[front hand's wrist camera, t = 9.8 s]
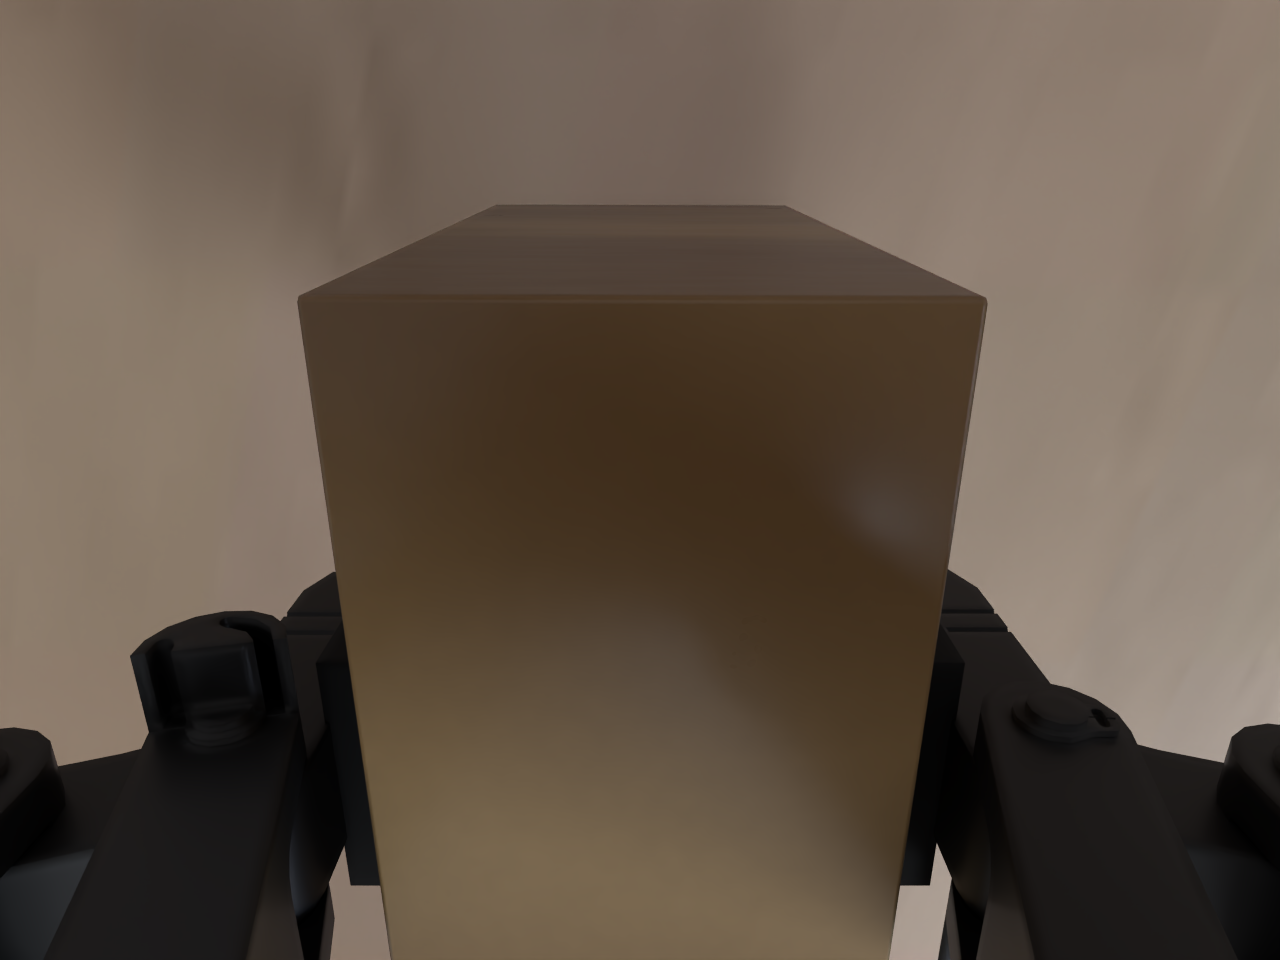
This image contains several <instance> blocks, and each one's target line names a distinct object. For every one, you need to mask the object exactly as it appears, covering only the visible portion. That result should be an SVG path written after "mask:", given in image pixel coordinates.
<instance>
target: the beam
mask: <svg viewBox="0 0 1280 960" xmlns="http://www.w3.org/2000/svg"><path fill="white" fill-rule="evenodd" d="M297 303H298V310H299V317H300V324H301V331H302V338H303V345H304V352H305V359H306V366H307V373H308V380H309V387H310V394H311V401H312V408H313V415H314V422H315V429H316V436H317V443H318V450H319V457H320V464H321V471H322V479H323V486H324V493H325V500H326V507H327V514H328V521H329V528H330V535H331V542H332V549H333V556H334V563H335V570H336V577H337V584H338V591H339V598H340V605H341V612H342V619H343V626H344V633H345V640H346V647H347V654H348V661H349V668H350V675H351V682H352V689H353V696H354V703H355V710H356V718H357V725H358V732H359V739H360V746H361V753H362V760H363V767H364V774H365V781H366V788H367V795H368V802H369V809H370V816H371V823H372V830H373V837H374V844H375V851H376V858H377V865H378V872H379V879H380V886H381V893H382V900H383V907H384V914H385V921H386V928H387V935H388V942H389V949H390V957H391V960H889V956H890V949H891V942H892V936H893V929H894V922H895V916H896V909H897V902H898V896H899V889H900V883H901V876H902V869H903V863H904V856H905V849H906V843H907V836H908V829H909V823H910V816H911V809H912V803H913V796H914V790H915V783H916V776H917V770H918V763H919V756H920V750H921V743H922V736H923V730H924V723H925V716H926V710H927V703H928V696H929V690H930V683H931V677H932V670H933V663H934V657H935V650H936V643H937V637H938V630H939V623H940V617H941V610H942V603H943V597H944V590H945V583H946V577H947V570H948V564H949V557H950V550H951V544H952V537H953V530H954V524H955V517H956V510H957V504H958V497H959V490H960V484H961V477H962V471H963V464H964V457H965V451H966V444H967V437H968V431H969V424H970V417H971V411H972V404H973V397H974V391H975V384H976V377H977V371H978V364H979V358H980V351H981V344H982V338H983V331H984V324H985V318H986V311H987V304H988V303H987V299H986V298H985V297H983V296H981V295H978V294H976V293H974V292H972V291H970V290H968V289H965V288H963V287H961V286H959V285H957V284H955V283H952V282H950V281H948V280H946V279H944V278H941V277H939V276H937V275H935V274H933V273H931V272H928V271H926V270H924V269H922V268H920V267H918V266H915V265H913V264H911V263H909V262H907V261H905V260H902V259H900V258H898V257H896V256H894V255H891V254H889V253H887V252H885V251H883V250H881V249H878V248H876V247H874V246H872V245H870V244H868V243H865V242H863V241H861V240H859V239H857V238H854V237H852V236H850V235H848V234H846V233H844V232H841V231H839V230H837V229H835V228H833V227H831V226H828V225H826V224H824V223H822V222H820V221H818V220H815V219H813V218H811V217H809V216H807V215H804V214H802V213H800V212H798V211H796V210H794V209H791V208H789V207H787V206H757V205H495V206H493V207H491V208H488V209H486V210H484V211H482V212H480V213H478V214H475V215H473V216H471V217H469V218H467V219H465V220H462V221H460V222H458V223H456V224H454V225H452V226H449V227H447V228H445V229H443V230H441V231H439V232H436V233H434V234H432V235H430V236H428V237H426V238H423V239H421V240H419V241H417V242H415V243H413V244H410V245H408V246H406V247H404V248H402V249H400V250H397V251H395V252H393V253H391V254H389V255H387V256H384V257H382V258H380V259H378V260H376V261H374V262H371V263H369V264H367V265H365V266H363V267H361V268H358V269H356V270H354V271H352V272H350V273H348V274H345V275H343V276H341V277H339V278H337V279H335V280H332V281H330V282H328V283H326V284H324V285H322V286H319V287H317V288H315V289H313V290H311V291H309V292H306V293H304V294H302V295H300V296H299V297H298V301H297Z"/></svg>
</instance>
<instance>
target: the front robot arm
mask: <svg viewBox="0 0 1280 960" xmlns="http://www.w3.org/2000/svg"><path fill="white" fill-rule="evenodd" d="M130 658H131V662H132V666H133V670H134V674H135V678H136V682H137V686H138V690H139V694H140V698H141V702H142V706H143V710H144V714H145V718H146V722H147V726H148V730H149V734H148V736H147V738H146V740H145V742H144V744H143V746H142V749H139V750H135V751H131V752H127V753H123V754H118V755H113V756H108V757H103V758H98V759H93V760H88V761H83V762H78V763H73V764H68V765H63V766H58V765H57V762H56V759H55V755H54V752H53V749H52V745H51V742H50V740H48V739H47V738H46V737H44V736H43V735H42V734H41V733H39V732H38V731H34V730H28V729H21V728H15V727H13V728H4V729H0V960H330V954H331V945H332V937H333V928H334V919H335V918H334V911H333V904H332V898H331V892H330V886H329V881H330V878H331V876H332V874H333V871H334V869H335V866H336V864H337V862H338V859H339V857H340V855H341V852H342V850H343V847H344V846H345V852H346V858H347V865H348V871H349V877H350V884H351V885H380V879H379V872H378V865H377V858H376V851H375V844H374V837H373V830H372V823H371V816H370V809H369V802H368V795H367V788H366V781H365V774H364V767H363V760H362V753H361V746H360V739H359V732H358V725H357V718H356V710H355V703H354V696H353V689H352V682H351V675H350V668H349V661H348V654H347V647H346V640H345V633H344V626H343V619H342V612H341V605H340V598H339V591H338V584H337V577H336V572H332V573H331V574H329V575H328V576H326V577H324V578H323V579H321V580H320V581H318V582H316V583H315V584H313V585H312V586H310V587H309V588H307V589H305V590H304V591H303V592H302V593H301V595H300V596H299V597H298V599H297V600H296V601H295V603H294V604H293V605H292V607H291V608H290V609H289V611H288V612H287V617H283V619H282V620H281V621H279V620H278V619H276V618H275V617H274V616H272V615H268V614H263V613H259V612H254V611H224V612H219V613H214V614H208V615H203V616H198V617H194V618H191V619H188V620H186V621H183V622H180V623H177V624H175V625H172V626H169V627H167V628H165V629H163V630H162V631H160V632H158V633H157V634H155V635H153V636H152V637H150V638H148V639H146V640H145V641H144V642H143V643H142V644H141V645H140V646H139V647H138V648H137V649H136V650H135V651H134V652H133V653H132V655H131V656H130ZM936 843H937V844H938V846H939V849H940V851H941V854H942V856H943V858H944V861H945V863H946V865H947V868H948V870H949V872H950V875H951V877H952V880H951V886H950V892H949V898H948V904H947V910H946V915H945V921H944V927H943V933H942V939H941V945H940V951H939V957H938V960H1280V725H1276V724H1262V725H1256V726H1249V727H1244V728H1243V729H1242V730H1240V731H1239V732H1238V733H1236V734H1235V735H1234V736H1232V738H1231V741H1230V745H1229V748H1228V751H1227V755H1226V758H1225V761H1224V763H1222V762H1217V761H1211V760H1206V759H1201V758H1196V757H1191V756H1186V755H1181V754H1176V753H1171V752H1166V751H1161V750H1157V749H1153V748H1149V747H1145V746H1141V745H1137V743H1136V741H1135V738H1134V736H1133V734H1132V732H1131V730H1130V729H1129V728H1128V727H1127V725H1126V724H1125V723H1124V722H1123V720H1122V719H1121V718H1120V716H1119V715H1118V714H1117V713H1115V712H1114V711H1112V710H1111V709H1109V708H1108V707H1106V706H1105V705H1104V704H1102V703H1101V702H1099V701H1098V700H1096V699H1094V698H1092V697H1089V696H1087V695H1085V694H1082V693H1080V692H1078V691H1075V690H1073V689H1070V688H1067V687H1062V686H1058V685H1053V684H1050V682H1049V681H1048V680H1047V678H1046V677H1045V676H1044V675H1043V673H1042V672H1041V671H1040V669H1039V668H1038V667H1037V665H1036V664H1035V663H1034V661H1033V660H1032V659H1031V657H1030V656H1029V655H1028V654H1027V652H1026V651H1025V650H1024V648H1023V647H1022V646H1021V644H1020V643H1019V642H1018V640H1017V639H1016V638H1015V636H1014V635H1013V634H1012V633H1011V632H1008V630H1007V626H1006V625H1005V623H1004V622H1003V621H1002V619H1001V618H1000V617H999V615H998V614H994V609H993V608H992V606H991V605H990V604H989V602H988V601H987V600H986V598H985V597H984V596H983V594H982V593H981V592H980V591H979V589H978V588H977V587H975V586H974V585H972V584H971V583H969V582H967V581H966V580H964V579H963V578H961V577H959V576H958V575H956V574H955V573H953V572H951V571H950V570H947V577H946V583H945V590H944V597H943V603H942V610H941V617H940V623H939V630H938V637H937V643H936V650H935V657H934V663H933V670H932V677H931V683H930V690H929V696H928V703H927V710H926V716H925V723H924V730H923V736H922V743H921V750H920V756H919V763H918V770H917V776H916V783H915V790H914V796H913V803H912V809H911V816H910V823H909V829H908V836H907V843H906V849H905V856H904V863H903V869H902V876H901V883H900V885H930V881H931V875H932V868H933V862H934V856H935V849H936Z"/></svg>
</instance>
